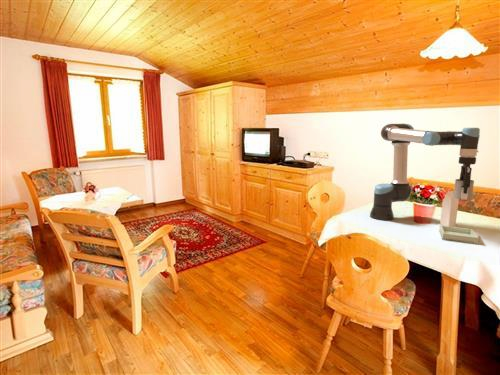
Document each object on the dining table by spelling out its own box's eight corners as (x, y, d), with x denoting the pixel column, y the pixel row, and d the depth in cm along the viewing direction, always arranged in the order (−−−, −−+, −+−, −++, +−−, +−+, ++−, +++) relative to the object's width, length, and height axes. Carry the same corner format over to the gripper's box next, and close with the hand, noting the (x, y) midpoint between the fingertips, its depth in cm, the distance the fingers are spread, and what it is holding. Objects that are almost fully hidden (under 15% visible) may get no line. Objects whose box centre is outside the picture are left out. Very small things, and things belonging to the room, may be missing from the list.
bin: (442, 239, 164) (442, 233, 163) (439, 230, 178) (439, 225, 177) (477, 244, 157) (478, 237, 156) (471, 234, 171) (472, 229, 170)
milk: (448, 227, 185) (452, 193, 181) (439, 224, 191) (443, 191, 186) (455, 226, 186) (460, 192, 182) (446, 223, 192) (450, 190, 188)
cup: (474, 200, 158) (477, 181, 156) (457, 199, 160) (460, 181, 158) (466, 196, 166) (469, 179, 164) (450, 196, 168) (452, 178, 166)
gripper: (480, 158, 148) (474, 202, 152) (472, 155, 166) (467, 194, 171) (462, 158, 151) (457, 200, 156) (456, 155, 170) (451, 193, 174)
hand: (462, 197), depth 163 cm, fingers closed on cup, 8 cm apart
